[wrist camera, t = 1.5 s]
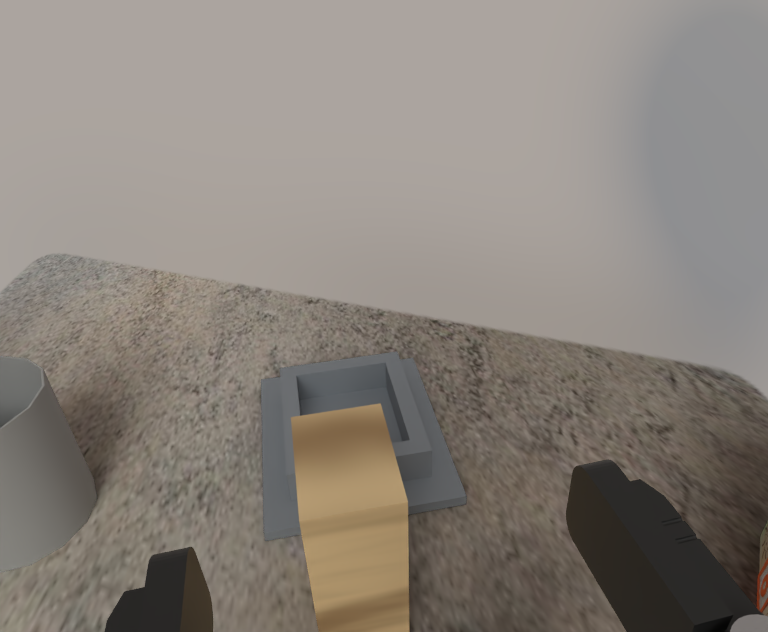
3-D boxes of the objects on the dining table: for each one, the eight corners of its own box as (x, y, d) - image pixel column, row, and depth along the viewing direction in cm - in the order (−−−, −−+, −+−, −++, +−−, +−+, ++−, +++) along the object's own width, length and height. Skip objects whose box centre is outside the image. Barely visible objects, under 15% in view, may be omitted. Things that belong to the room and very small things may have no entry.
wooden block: (409, 651, 30) (407, 501, 23) (325, 670, 29) (299, 521, 22) (387, 550, 34) (380, 403, 28) (314, 564, 34) (290, 417, 27)
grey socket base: (466, 504, 37) (468, 469, 35) (265, 541, 35) (257, 506, 33) (413, 364, 49) (413, 334, 48) (262, 386, 48) (256, 355, 46)
